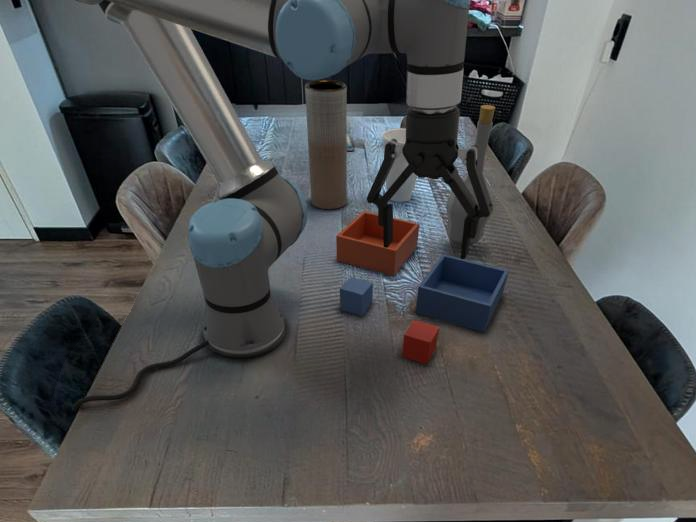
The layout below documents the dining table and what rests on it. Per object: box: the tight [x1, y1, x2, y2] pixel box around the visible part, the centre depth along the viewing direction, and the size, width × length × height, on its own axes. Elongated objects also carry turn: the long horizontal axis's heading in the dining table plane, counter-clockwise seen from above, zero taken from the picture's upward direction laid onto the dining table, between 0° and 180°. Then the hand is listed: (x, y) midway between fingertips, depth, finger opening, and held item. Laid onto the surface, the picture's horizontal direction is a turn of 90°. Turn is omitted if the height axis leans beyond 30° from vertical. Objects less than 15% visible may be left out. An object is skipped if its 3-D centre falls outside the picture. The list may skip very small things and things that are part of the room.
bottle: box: [445, 104, 496, 248], centre depth 106 cm, size 11×11×30 cm
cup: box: [381, 127, 418, 203], centre depth 131 cm, size 12×12×16 cm
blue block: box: [339, 276, 374, 317], centre depth 97 cm, size 5×5×5 cm
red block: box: [401, 319, 440, 365], centre depth 87 cm, size 5×5×5 cm
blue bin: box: [414, 253, 510, 333], centre depth 98 cm, size 15×15×6 cm
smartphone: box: [347, 133, 354, 152], centre depth 165 cm, size 7×1×15 cm
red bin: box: [335, 210, 420, 277], centre depth 111 cm, size 15×15×6 cm
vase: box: [304, 79, 348, 210], centre depth 123 cm, size 10×10×28 cm
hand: (425, 249), depth 81 cm, fingers open, 13 cm apart
